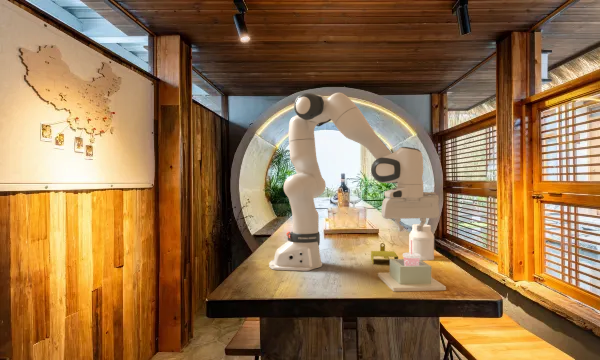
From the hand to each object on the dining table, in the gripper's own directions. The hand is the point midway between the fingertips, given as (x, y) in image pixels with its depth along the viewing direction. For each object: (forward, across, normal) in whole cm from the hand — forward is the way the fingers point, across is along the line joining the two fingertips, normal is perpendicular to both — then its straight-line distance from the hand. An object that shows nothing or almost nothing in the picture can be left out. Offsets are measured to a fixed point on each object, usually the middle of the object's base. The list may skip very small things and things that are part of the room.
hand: (410, 231), depth 129 cm
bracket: (+19, 0, -29) cm, 34 cm away
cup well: (+19, 0, 0) cm, 19 cm away
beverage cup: (+18, 0, 0) cm, 18 cm away
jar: (+19, -20, -37) cm, 46 cm away
